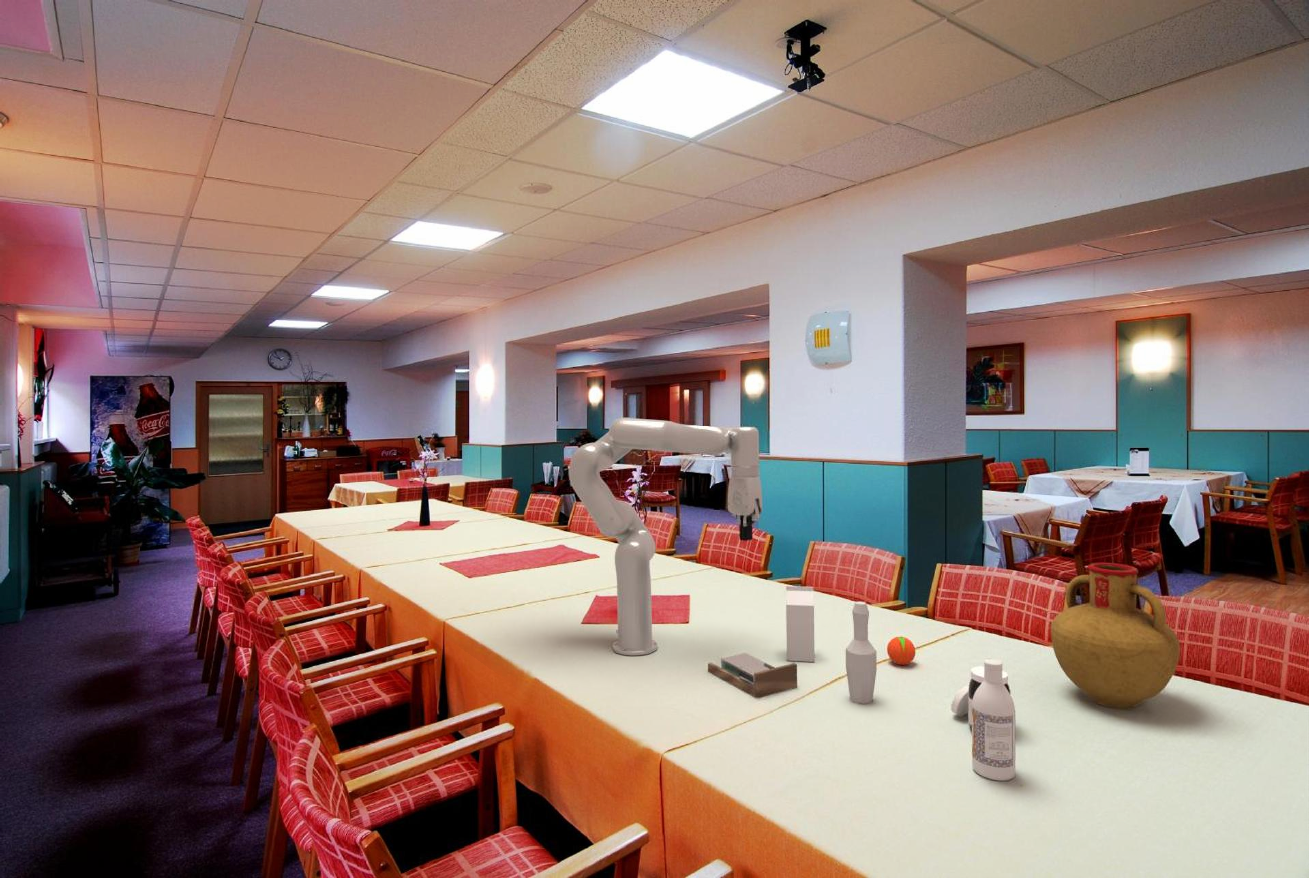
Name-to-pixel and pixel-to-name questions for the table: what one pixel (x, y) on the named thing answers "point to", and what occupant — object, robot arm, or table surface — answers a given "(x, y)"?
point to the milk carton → (800, 623)
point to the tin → (738, 662)
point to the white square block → (751, 671)
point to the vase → (1115, 639)
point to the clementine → (901, 650)
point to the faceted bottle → (861, 658)
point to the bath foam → (993, 726)
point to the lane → (761, 679)
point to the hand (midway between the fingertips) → (746, 539)
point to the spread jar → (972, 693)
